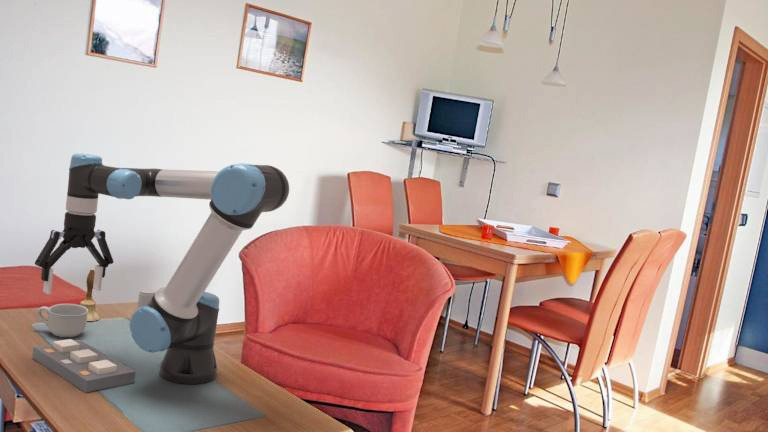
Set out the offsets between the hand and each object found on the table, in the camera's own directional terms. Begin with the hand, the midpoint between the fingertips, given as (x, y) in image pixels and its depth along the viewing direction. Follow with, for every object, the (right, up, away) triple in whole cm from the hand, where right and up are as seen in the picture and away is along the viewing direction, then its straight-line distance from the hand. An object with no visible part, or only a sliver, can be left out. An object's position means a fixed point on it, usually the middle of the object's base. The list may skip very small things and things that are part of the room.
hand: (72, 291), depth 180 cm
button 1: (-2, -16, +1) cm, 16 cm away
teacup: (-13, -15, +20) cm, 28 cm away
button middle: (+5, -18, -4) cm, 19 cm away
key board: (+4, -20, -4) cm, 21 cm away
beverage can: (+5, -16, +38) cm, 42 cm away
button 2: (+12, -19, -10) cm, 25 cm away
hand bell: (-13, -13, +38) cm, 42 cm away
